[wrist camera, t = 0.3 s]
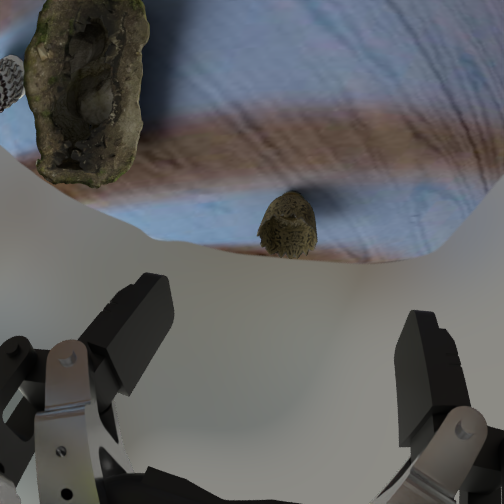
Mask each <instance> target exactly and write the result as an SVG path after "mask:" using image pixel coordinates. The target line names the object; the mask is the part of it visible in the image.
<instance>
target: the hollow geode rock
mask: <svg viewBox="0 0 504 504" xmlns="http://www.w3.org/2000/svg"><path fill="white" fill-rule="evenodd" d="M149 36H150V26H149V23H148V22H147V18H146V12H145V6H144V4H143V2H142V1H141V0H47V1H46V2H45V3H44V5H43V8H42V11H40V12H39V17H38V21H37V29H36V32H35V34H34V36H33V38H32V40H31V42H30V44H29V45H28V47H27V48H26V51H25V56H24V63H23V65H24V76H23V85H24V88H25V94H26V97H27V100H28V104H29V107H30V110H31V111H32V112H33V115H34V118H35V129H36V143H37V147H38V150H39V152H40V154H41V160H39V159H37V162H36V168H37V171H38V172H39V174H40V175H42V176H43V177H44V179H46V180H47V181H49V182H51V183H52V184H58V183H65V184H69V183H71V184H75V183H81V184H85V185H87V186H89V187H91V188H100V186H101V185H102V184H103V185H105V184H108V183H113V182H115V181H116V180H117V179H118V178H119V177H120V176H121V175H123V174H125V173H126V172H127V171H128V170H129V168H130V167H131V166H132V164H133V161H134V159H135V157H136V152H137V143H138V140H139V138H140V131H141V130H142V128H143V122H142V120H141V111H140V106H139V95H140V91H141V80H142V76H143V64H142V53H141V51H142V47H143V46H145V45H146V43H147V42H148V39H149ZM104 69H105V70H104ZM90 124H91V125H92V126H91V128H90V130H89V127H90Z"/></svg>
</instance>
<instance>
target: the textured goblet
mask: <svg viewBox="0 0 504 504" xmlns="http://www.w3.org/2000/svg"><path fill="white" fill-rule="evenodd" d="M259 235H260V238H261V243H260V244H261V247H265V248H266V251H267V252H268V253H269V254H270V255H271V254H275V253H278V256H279V257H280V258H282V257H283V256H284V255H285V254H286V255H287V257H288V258H289V259H292V258H294V256H295V257H296V258H297V259H298V258H299V256H300V255H301V254H302V252H303V253H304V254H305V255H306V256H307V254H308V251H309V250H311V251H312V250H314V249H315V246H316V243H317V231H316V221H315V215H314V212H313V209H312V207H311V205H310V204H309V203H308V202H307V201H306V200H305V199H304V197H303V196H302V195H301V194H300V193H298V192H295V191H289V192H286V193H284V194H283V195H282V196H280V197H278V198H276V199H275V200H274V201H273V202H272V203H271V204H270V205H269V207H268V209H267V210H266V213H265V215H264V217H263V220H262V222H261V225H260V227H259V229H258V232H257V236H259Z"/></svg>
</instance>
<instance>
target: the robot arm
mask: <svg viewBox="0 0 504 504" xmlns="http://www.w3.org/2000/svg"><path fill="white" fill-rule="evenodd" d="M173 320H174V307H173V301H172V297H171V291H170V285H169V280H168V278H167V277H166V276H164V275H158V274H153V273H144V274H143V275H142V276H141V277H140V278H139V279H138V280H137V282H136V283H135V284H134V285H133V284H130V285H128V286H127V287H125V288H123V289H122V290H121V291H119V292H118V293H117V294H116V295H115V296H114V298H113V299H112V300H111V301H110V304H109V303H108V304H107V305H106V307H105V308H104V309H103V311H102V312H100V313H99V315H98V316H97V317H96V318H95V319H94V321H93V322H92V323H91V324H90V325H89V327H88V328H87V329H86V330H85V331H84V333H83V334H82V335H81V336H80V338H79V339H78V340H65V341H62V342H60V343H58V344H57V345H55V346H54V347H53V348H52V349H51V350H41V349H33V347H32V345H31V344H30V342H29V340H28V339H27V338H26V337H23V336H15V337H12V338H10V339H8V340H6V341H5V342H4V343H3V344H2V345H1V346H0V504H21V499H20V497H19V496H18V495H17V494H16V487H17V485H18V483H19V481H20V479H21V477H22V475H23V473H24V471H25V469H26V467H27V465H28V463H29V462H30V460H31V458H32V456H33V454H34V452H35V458H36V472H37V482H38V491H39V500H40V504H299V503H292V502H284V501H277V500H242V501H241V500H236V501H235V500H230V501H229V500H223V499H221V498H219V497H217V496H215V495H213V494H211V493H210V492H208V491H206V490H204V489H202V488H200V487H198V486H197V485H195V484H193V483H192V482H190V481H188V480H187V479H184V478H180V477H178V476H175V475H172V474H169V473H166V472H163V471H160V470H158V469H155V468H152V467H149V466H148V468H147V470H146V472H145V473H134V470H133V467H132V465H131V462H130V460H129V458H128V456H127V454H126V452H125V449H124V446H123V441H122V437H121V431H120V427H119V422H118V416H117V411H116V405H115V401H114V397H115V395H116V394H117V392H118V393H121V394H123V395H126V396H130V394H131V393H132V391H133V389H134V388H135V386H136V384H137V382H138V381H139V379H140V378H141V376H142V374H143V373H144V371H145V369H146V368H147V366H148V364H149V363H150V361H151V359H152V357H153V356H154V354H155V353H156V351H157V349H158V347H159V346H160V344H161V343H162V341H163V340H164V338H165V336H166V335H167V333H168V331H169V329H170V328H171V326H172V323H173ZM394 365H395V376H396V387H397V403H398V423H399V447H411V456H410V457H409V458H408V459H407V460H406V461H405V463H404V464H403V465H402V467H401V468H400V469H399V471H397V473H396V474H395V475H394V476H393V477H392V479H391V480H390V481H389V482H388V483H387V484H386V486H385V487H384V488H383V489H382V490H381V491H380V492H379V493H378V494H377V496H376V497H375V498H374V499H373V500H372V501H371V502H370V503H369V504H456V500H454V497H455V495H456V493H457V491H458V490H460V496H459V504H501V486H502V504H504V430H500V429H496V428H493V427H490V426H487V423H486V421H485V418H484V417H483V415H482V414H481V413H480V412H479V411H477V410H476V409H474V408H472V407H471V404H470V399H469V395H468V390H467V386H466V382H465V378H464V374H463V370H462V367H461V366H460V365H461V362H460V359H459V356H458V352H457V348H456V345H455V342H454V340H453V338H452V337H451V336H450V334H449V333H448V332H447V330H446V329H440V328H439V326H438V323H437V319H436V317H435V314H434V312H429V311H419V310H411V311H410V313H409V315H408V317H407V320H406V323H405V325H404V328H403V330H402V332H401V335H400V337H399V340H398V342H397V345H396V348H395V354H394ZM18 389H19V390H20V391H21V393H22V394H23V395H24V396H23V398H22V399H21V401H20V402H19V404H18V405H17V407H16V408H15V410H14V411H13V413H12V414H11V416H10V418H9V419H8V421H7V422H6V423H4V422H3V418H2V414H3V410H4V409H5V407H6V406H7V404H8V403H9V401H10V400H11V398H12V397H13V395H14V394H15V392H16V391H17V390H18Z"/></svg>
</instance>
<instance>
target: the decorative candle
mask: <svg viewBox="0 0 504 504" xmlns="http://www.w3.org/2000/svg"><path fill="white" fill-rule="evenodd" d="M23 76H24V65H23V61H22V60H21V59H20V58H19V57H17V56H14V55H9V56H7V57H4V58H2V59H1V60H0V113H2V112H3V111H4V109H6V108H9V107H10V106H11V105H12V104H13V103H16V102H17V101H18V99H20V98H22V97H23V96H24V95H25V88H24V85H23Z"/></svg>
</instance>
